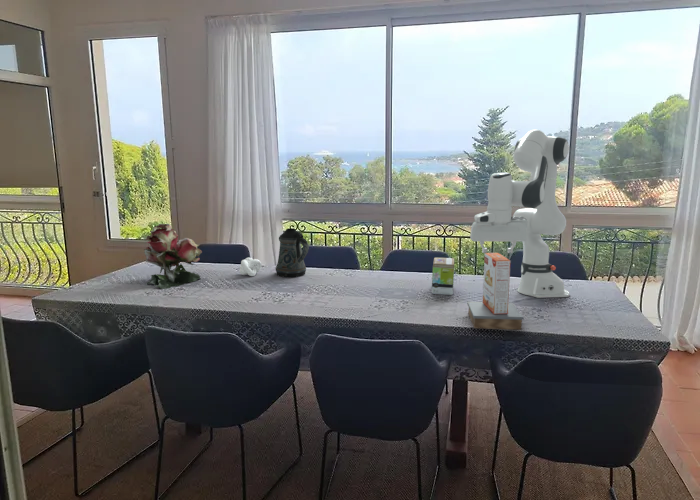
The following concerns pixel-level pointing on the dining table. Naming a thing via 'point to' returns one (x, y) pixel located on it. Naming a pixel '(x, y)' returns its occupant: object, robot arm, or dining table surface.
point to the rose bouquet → (171, 257)
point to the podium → (494, 317)
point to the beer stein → (291, 254)
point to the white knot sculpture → (250, 266)
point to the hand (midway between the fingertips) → (497, 252)
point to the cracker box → (496, 283)
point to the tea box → (443, 276)
